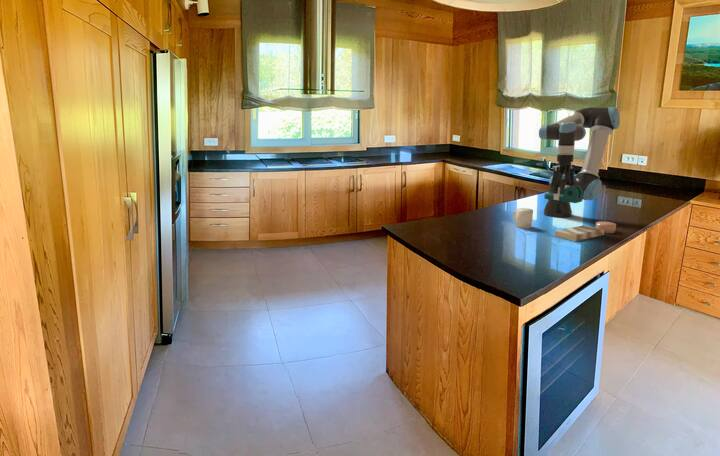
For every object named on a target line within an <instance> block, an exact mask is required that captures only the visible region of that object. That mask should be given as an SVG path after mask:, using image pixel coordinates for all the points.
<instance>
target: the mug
mask: <svg viewBox="0 0 720 456" xmlns="http://www.w3.org/2000/svg"><path fill="white" fill-rule="evenodd" d="M533 213H534V210H533V209H531V208H527V207H526V208H525V207H522V208H520V207H519V208H516V210H513V217H512V220H513V221H515V227H516V228H518V229H526V230H527V229H532V226H533V215H534V214H533Z"/></svg>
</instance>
